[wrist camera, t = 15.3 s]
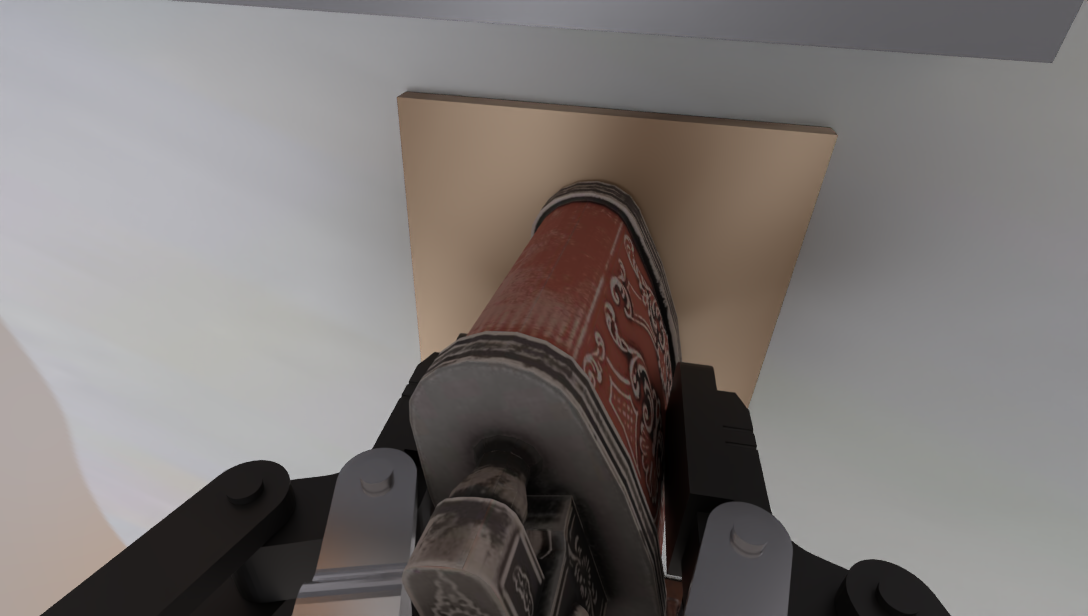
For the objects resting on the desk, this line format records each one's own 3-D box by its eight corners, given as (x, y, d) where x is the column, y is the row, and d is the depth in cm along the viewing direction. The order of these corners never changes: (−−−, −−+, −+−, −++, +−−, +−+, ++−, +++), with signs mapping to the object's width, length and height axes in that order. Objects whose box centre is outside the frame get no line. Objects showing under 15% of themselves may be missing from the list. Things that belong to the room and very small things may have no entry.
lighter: (514, 194, 14) (234, 515, 6) (649, 168, 13) (537, 521, 5) (589, 438, 18) (480, 854, 9) (699, 434, 17) (688, 905, 8)
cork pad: (830, 127, 13) (838, 135, 12) (730, 439, 18) (732, 453, 18) (405, 91, 14) (397, 97, 13) (431, 397, 19) (425, 409, 19)
